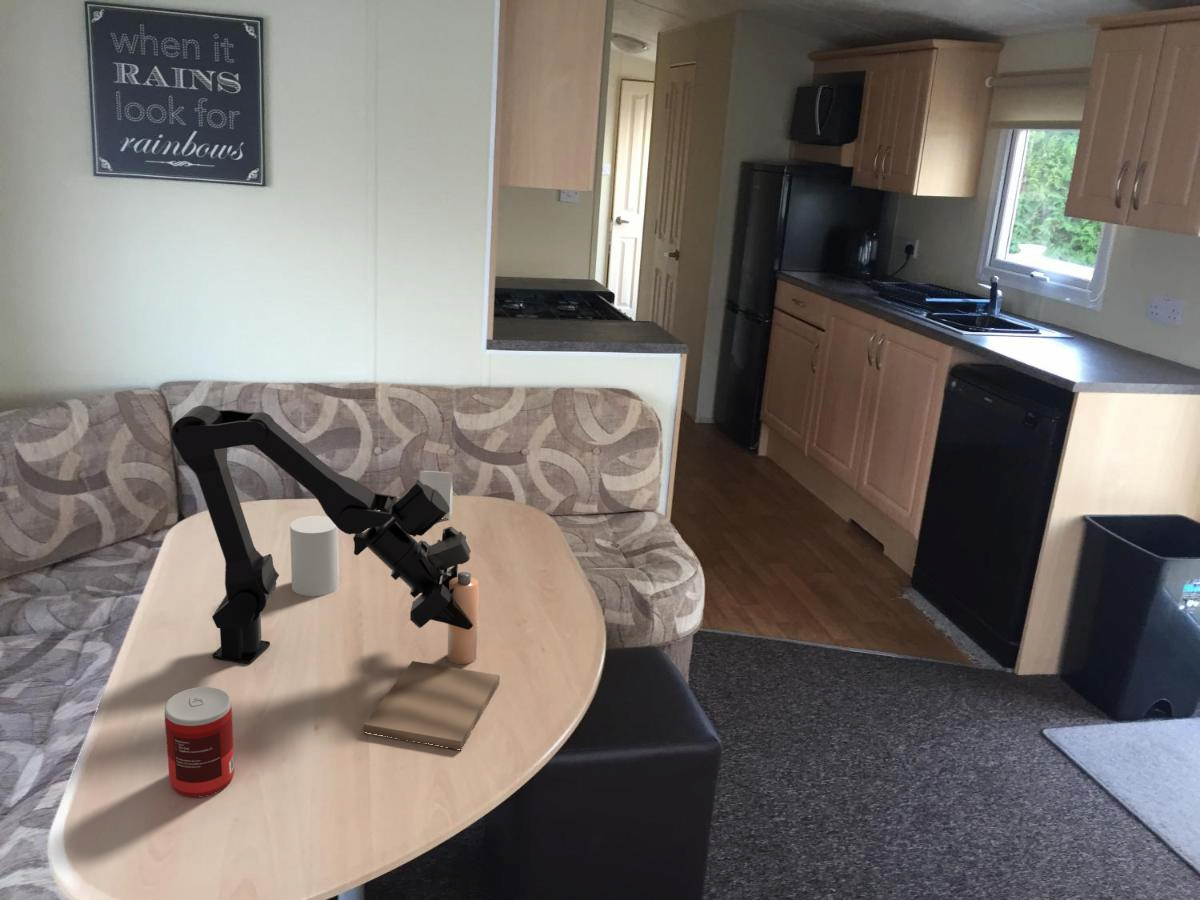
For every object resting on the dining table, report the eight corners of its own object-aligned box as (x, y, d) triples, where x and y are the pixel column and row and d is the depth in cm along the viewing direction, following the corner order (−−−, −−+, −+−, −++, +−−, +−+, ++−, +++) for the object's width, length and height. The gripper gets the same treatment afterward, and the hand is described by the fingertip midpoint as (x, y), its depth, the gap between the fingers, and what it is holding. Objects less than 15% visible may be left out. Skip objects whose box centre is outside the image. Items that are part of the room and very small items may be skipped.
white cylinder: (345, 579, 183) (344, 518, 179) (329, 598, 175) (328, 535, 171) (302, 574, 183) (300, 513, 180) (284, 593, 176) (282, 530, 172)
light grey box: (449, 519, 214) (450, 475, 211) (418, 517, 214) (418, 473, 211) (452, 513, 217) (453, 470, 214) (421, 511, 217) (421, 468, 214)
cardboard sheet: (461, 750, 135) (461, 741, 134) (363, 733, 137) (363, 724, 137) (499, 683, 152) (499, 675, 151) (412, 669, 154) (412, 660, 153)
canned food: (213, 753, 131) (209, 679, 127) (247, 779, 126) (244, 703, 123) (157, 778, 125) (151, 702, 122) (190, 807, 120) (185, 728, 117)
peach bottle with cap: (471, 666, 156) (473, 582, 152) (443, 661, 157) (445, 578, 152) (480, 652, 160) (483, 570, 156) (453, 648, 161) (455, 566, 157)
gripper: (434, 544, 142) (508, 616, 147) (444, 498, 160) (510, 563, 164) (378, 592, 144) (453, 662, 148) (394, 542, 162) (461, 605, 166)
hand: (471, 620), depth 157 cm, fingers closed on peach bottle with cap, 5 cm apart
